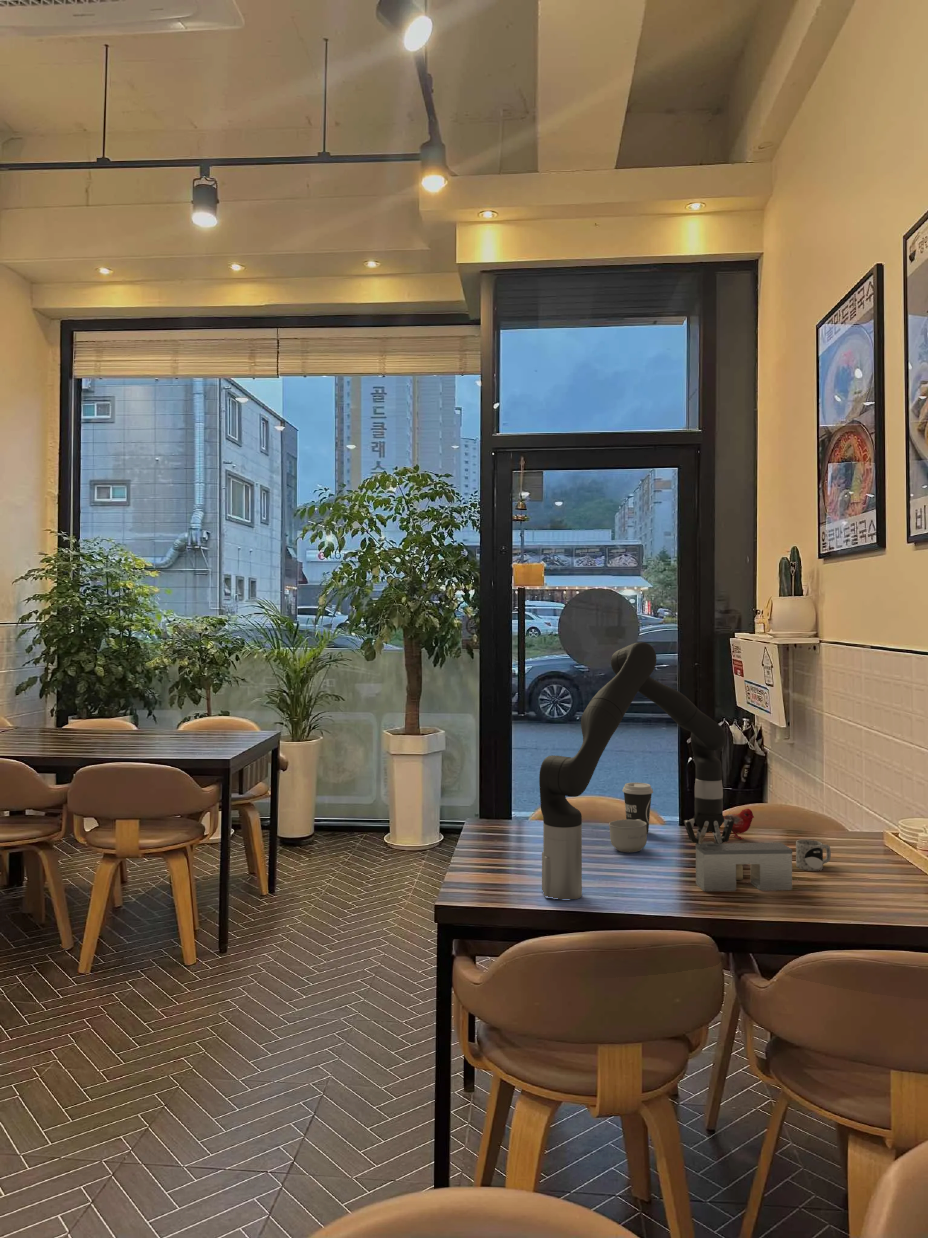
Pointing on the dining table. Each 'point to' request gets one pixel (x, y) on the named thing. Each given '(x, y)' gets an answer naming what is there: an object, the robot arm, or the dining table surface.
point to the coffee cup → (638, 801)
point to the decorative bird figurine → (740, 821)
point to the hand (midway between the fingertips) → (708, 856)
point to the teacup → (628, 835)
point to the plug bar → (738, 867)
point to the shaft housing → (764, 859)
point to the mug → (811, 855)
